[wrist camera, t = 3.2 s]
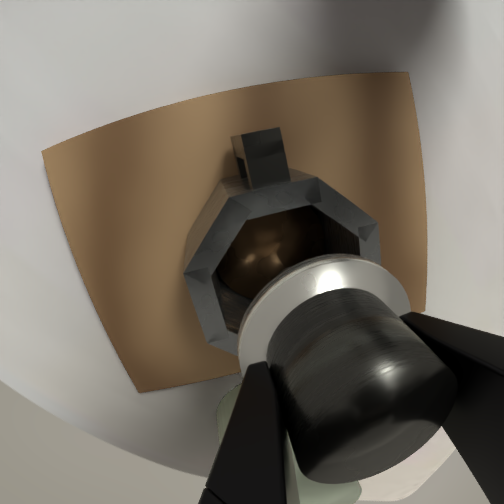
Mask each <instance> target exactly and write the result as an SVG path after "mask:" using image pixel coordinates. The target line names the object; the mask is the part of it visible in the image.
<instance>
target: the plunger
mask: <svg viewBox="0 0 504 504" xmlns="http://www.w3.org/2000/svg"><path fill="white" fill-rule="evenodd" d="M408 312H411V308H410V302H409V299H408V296H407V294H406V292H405V290H404V288H403V286H402V285H401V284H400V282H399V281H398V280H397V279H396V278H395V277H394V276H393V275H392V274H390V273H389V272H388V271H387V270H385V269H384V268H383V267H381V266H380V265H379V264H377V263H375V262H374V261H372V260H370V259H367V258H365V257H362V256H358V255H353V254H341V253H339V254H327V255H322V256H317V257H314V258H311V259H308V260H305V261H302V262H300V263H298V264H296V265H294V266H292V267H287V268H285V269H283V270H282V271H281V272H280V273H279V274H278V276H276V277H275V278H274V279H273V280H271V281H270V282H269V283H268V284H267V285H266V286H265V287H264V288H263V289H262V290H261V291H260V292H259V293H258V294H257V296H256V297H255V298H254V300H253V301H252V302H251V304H250V305H249V307H248V309H247V311H246V312H245V314H244V317H243V319H242V321H241V324H240V328H239V332H238V339H237V353H238V358H239V363H240V368H241V372H242V376H243V378H244V376H245V373H246V370H247V367H248V365H250V364H252V363H256V362H260V361H266V362H267V364H268V367H269V370H270V373H271V376H272V379H273V382H274V385H275V388H276V391H277V395H278V398H279V402H280V406H281V410H282V414H283V418H284V422H285V426H286V429H287V433H288V436H289V439H290V442H291V445H292V448H293V451H294V454H295V458H296V461H297V464H298V467H299V469H300V471H301V473H302V474H303V475H304V476H305V477H307V478H308V479H310V480H312V481H315V482H319V483H325V484H341V483H349V482H354V481H358V480H362V479H365V478H368V477H371V476H374V475H376V474H379V473H381V472H383V471H385V470H387V469H389V468H391V467H393V466H395V465H397V464H398V463H400V462H402V461H403V460H405V459H406V458H408V457H409V456H410V455H412V454H413V453H414V452H416V451H417V450H418V449H420V448H421V447H422V446H423V445H424V444H425V443H426V442H427V441H428V440H429V439H430V438H431V437H432V436H433V435H434V434H435V433H436V432H437V431H438V430H439V428H440V427H441V426H442V424H443V423H444V422H445V420H446V419H447V417H448V415H449V414H450V412H451V410H452V408H453V406H454V403H455V401H456V397H457V393H458V382H457V378H456V376H455V374H454V373H453V372H452V370H451V369H450V368H449V367H448V366H447V365H446V364H445V363H444V362H443V361H442V360H441V359H440V358H439V357H438V356H437V355H436V354H435V353H434V352H433V351H432V350H431V349H430V348H429V347H428V346H427V345H426V344H425V343H424V342H423V341H422V340H421V339H420V338H419V337H418V336H417V335H416V334H415V333H414V332H413V331H412V330H411V329H410V328H409V327H408V326H407V325H406V324H405V323H404V322H403V321H402V320H401V319H400V318H399V316H401V315H403V314H406V313H408Z"/></svg>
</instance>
